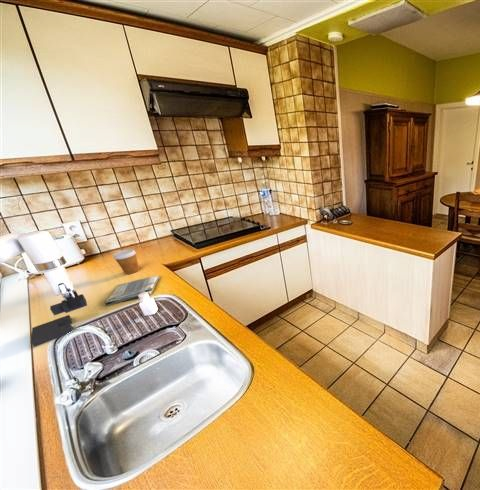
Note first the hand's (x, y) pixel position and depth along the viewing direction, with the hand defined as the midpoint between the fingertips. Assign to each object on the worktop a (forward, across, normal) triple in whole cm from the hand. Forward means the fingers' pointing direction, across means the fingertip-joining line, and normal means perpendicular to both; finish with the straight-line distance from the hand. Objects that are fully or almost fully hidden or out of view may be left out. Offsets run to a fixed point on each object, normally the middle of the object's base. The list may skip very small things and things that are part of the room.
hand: (74, 303), depth 105 cm
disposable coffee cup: (+9, -41, +21) cm, 47 cm away
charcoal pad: (+9, 0, -9) cm, 13 cm away
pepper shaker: (+10, +15, +19) cm, 26 cm away
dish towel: (+9, -13, +18) cm, 24 cm away
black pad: (+1, 0, -2) cm, 2 cm away
